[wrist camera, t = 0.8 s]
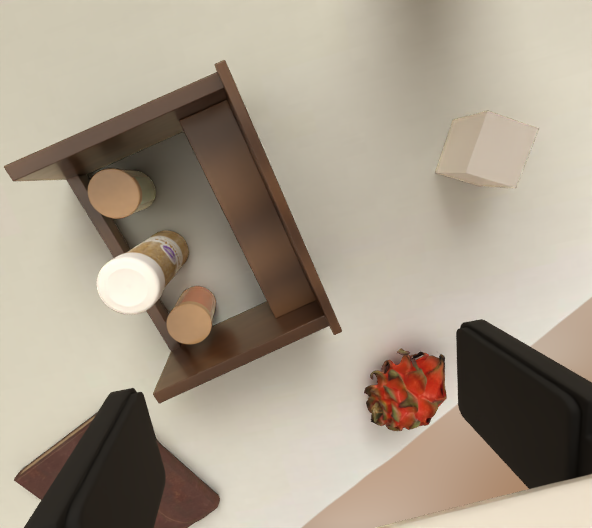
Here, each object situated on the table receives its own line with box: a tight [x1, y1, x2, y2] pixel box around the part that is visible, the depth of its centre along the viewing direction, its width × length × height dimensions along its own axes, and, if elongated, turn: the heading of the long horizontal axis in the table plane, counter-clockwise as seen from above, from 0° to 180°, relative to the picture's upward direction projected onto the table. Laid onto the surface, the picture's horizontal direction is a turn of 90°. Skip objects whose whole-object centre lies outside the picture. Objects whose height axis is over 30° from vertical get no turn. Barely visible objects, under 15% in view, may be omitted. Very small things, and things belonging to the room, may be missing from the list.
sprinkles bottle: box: [97, 231, 189, 315], centre depth 32 cm, size 5×5×13 cm
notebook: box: [14, 412, 220, 528], centre depth 45 cm, size 15×20×2 cm
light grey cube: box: [435, 111, 539, 188], centre depth 38 cm, size 6×6×6 cm
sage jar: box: [88, 168, 156, 219], centre depth 34 cm, size 4×4×6 cm
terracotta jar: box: [167, 286, 216, 344], centre depth 38 cm, size 4×4×6 cm
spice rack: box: [4, 60, 342, 403], centre depth 33 cm, size 23×18×12 cm
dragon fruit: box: [364, 349, 447, 431], centre depth 43 cm, size 8×8×12 cm
